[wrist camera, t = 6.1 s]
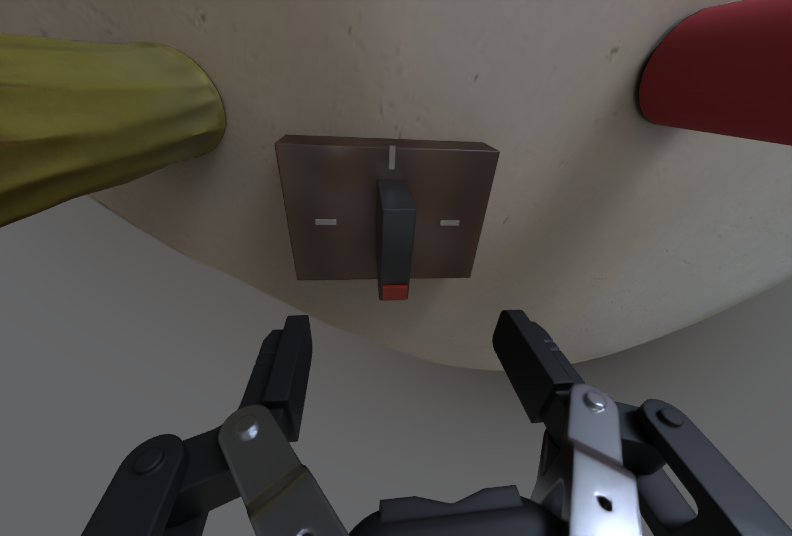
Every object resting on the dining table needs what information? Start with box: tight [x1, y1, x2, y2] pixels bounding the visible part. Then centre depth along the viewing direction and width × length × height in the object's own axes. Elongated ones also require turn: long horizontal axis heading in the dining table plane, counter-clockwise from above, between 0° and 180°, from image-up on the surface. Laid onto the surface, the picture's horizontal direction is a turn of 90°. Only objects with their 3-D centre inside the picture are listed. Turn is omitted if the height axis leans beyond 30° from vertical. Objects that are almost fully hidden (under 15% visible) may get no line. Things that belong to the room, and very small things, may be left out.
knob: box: [376, 180, 417, 300], centre depth 18 cm, size 6×2×5 cm, turn 177°
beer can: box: [639, 0, 792, 146], centre depth 15 cm, size 7×7×12 cm
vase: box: [0, 33, 225, 228], centre depth 12 cm, size 6×6×14 cm
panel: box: [275, 135, 500, 280], centre depth 22 cm, size 14×10×3 cm
